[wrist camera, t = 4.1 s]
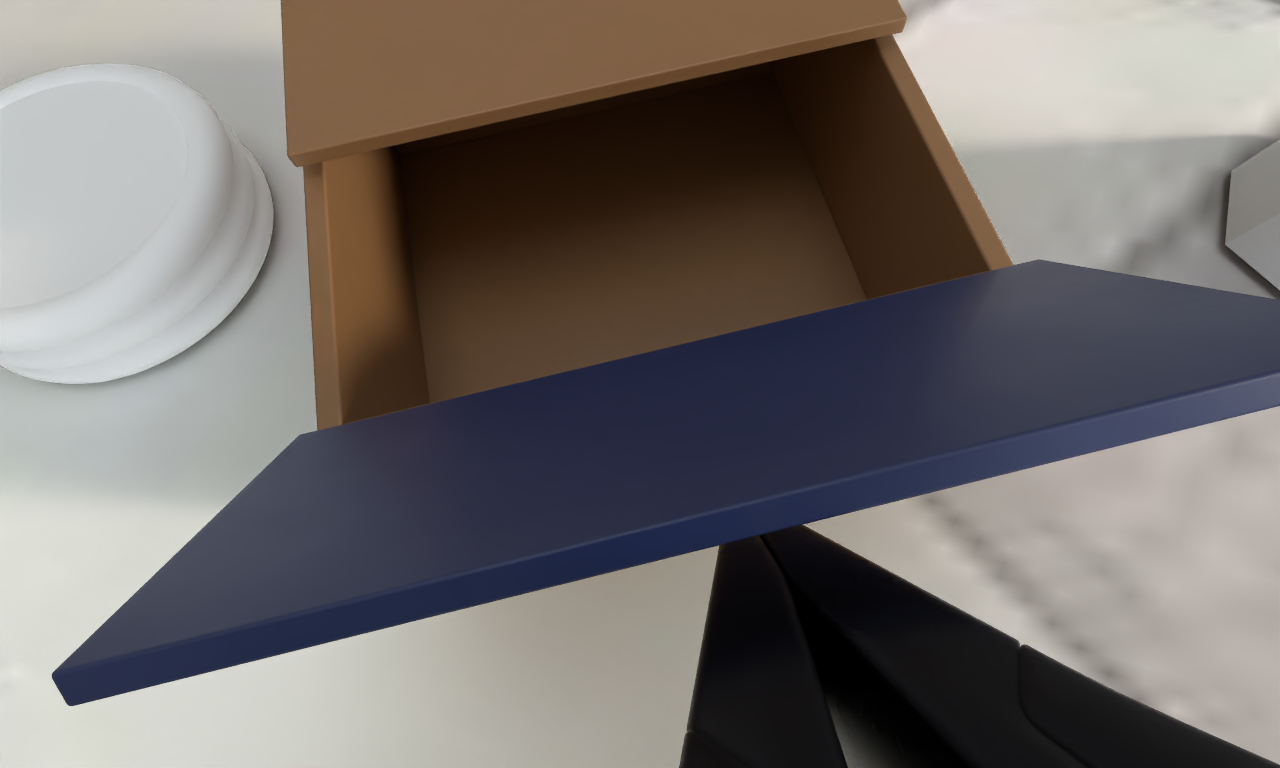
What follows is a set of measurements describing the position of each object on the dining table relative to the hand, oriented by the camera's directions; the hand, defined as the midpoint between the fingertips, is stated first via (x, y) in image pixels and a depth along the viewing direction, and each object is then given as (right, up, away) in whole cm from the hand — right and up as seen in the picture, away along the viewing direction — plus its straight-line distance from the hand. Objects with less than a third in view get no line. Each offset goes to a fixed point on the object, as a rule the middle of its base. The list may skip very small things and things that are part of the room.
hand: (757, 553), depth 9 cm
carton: (-2, +6, +13) cm, 15 cm away
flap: (-1, +2, +1) cm, 2 cm away
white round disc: (-18, +6, +15) cm, 24 cm away
